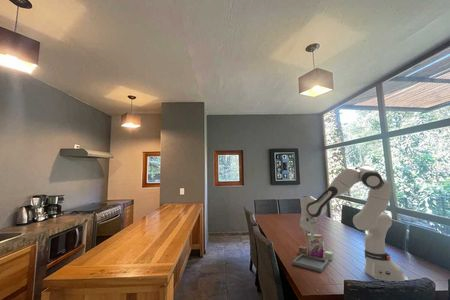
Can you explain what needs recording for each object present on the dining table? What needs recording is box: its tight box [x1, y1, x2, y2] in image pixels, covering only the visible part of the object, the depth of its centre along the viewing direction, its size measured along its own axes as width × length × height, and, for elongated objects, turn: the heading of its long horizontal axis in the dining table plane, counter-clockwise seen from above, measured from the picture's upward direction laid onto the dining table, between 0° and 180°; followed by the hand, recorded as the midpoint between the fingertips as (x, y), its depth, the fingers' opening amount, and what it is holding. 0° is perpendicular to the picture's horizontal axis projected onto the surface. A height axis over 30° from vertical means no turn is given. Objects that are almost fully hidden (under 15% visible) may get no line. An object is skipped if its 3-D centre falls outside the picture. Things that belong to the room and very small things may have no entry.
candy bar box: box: [306, 233, 324, 258], centre depth 167 cm, size 11×5×16 cm, turn 70°
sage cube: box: [323, 250, 334, 261], centre depth 160 cm, size 5×5×5 cm
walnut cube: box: [298, 245, 308, 255], centre depth 172 cm, size 5×5×5 cm
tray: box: [292, 254, 330, 273], centre depth 152 cm, size 20×18×2 cm
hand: (308, 236), depth 154 cm, fingers open, 8 cm apart
